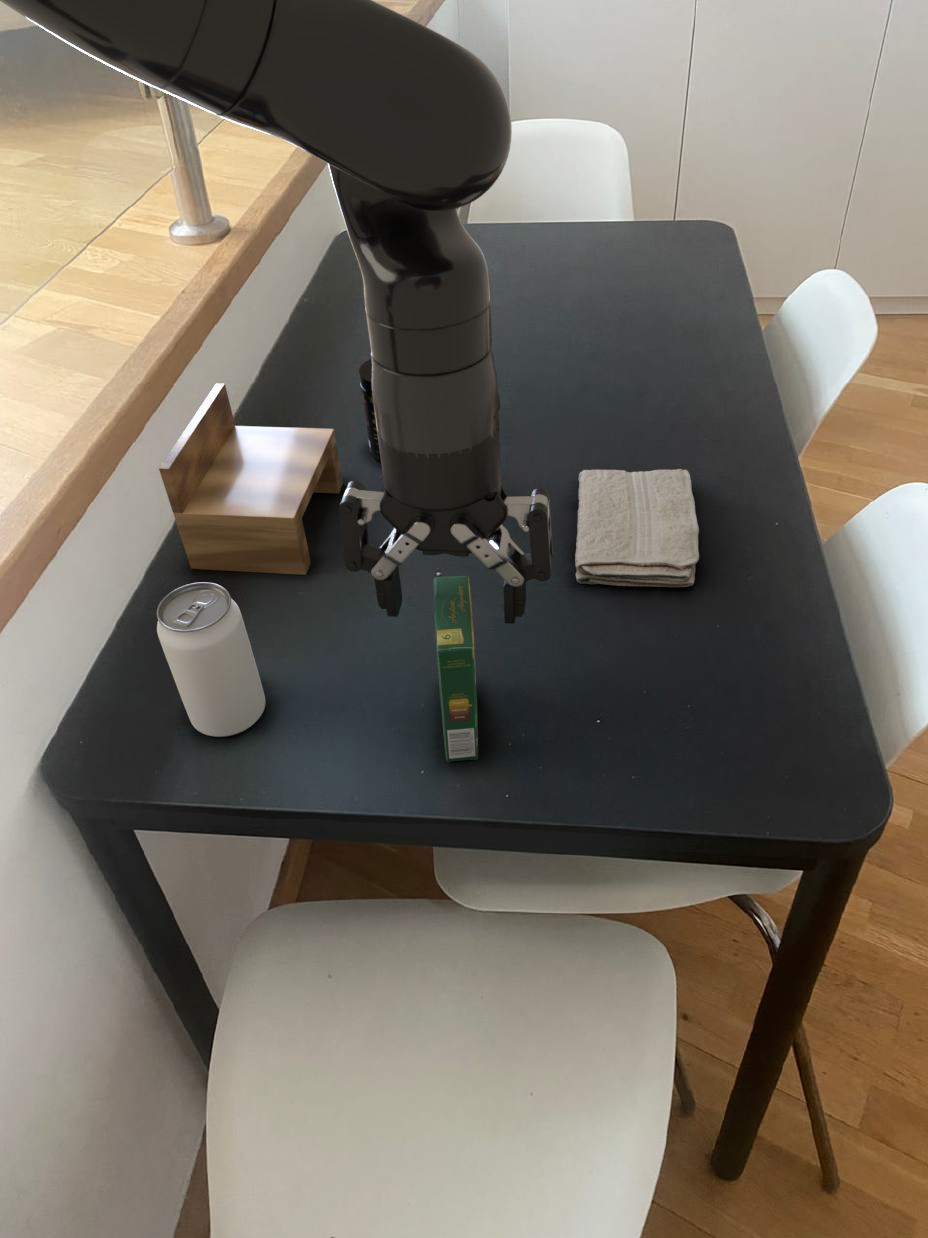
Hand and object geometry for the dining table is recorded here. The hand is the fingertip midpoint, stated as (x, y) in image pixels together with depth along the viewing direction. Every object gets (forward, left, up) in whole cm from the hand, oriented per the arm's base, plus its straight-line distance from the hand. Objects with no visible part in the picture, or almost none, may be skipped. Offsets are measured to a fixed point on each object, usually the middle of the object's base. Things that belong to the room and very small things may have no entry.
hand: (453, 612), depth 67 cm
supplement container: (-13, +41, -13) cm, 45 cm away
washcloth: (+14, +27, -13) cm, 33 cm away
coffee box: (0, 0, -13) cm, 13 cm away
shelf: (-24, +26, -13) cm, 38 cm away
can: (-20, 0, -13) cm, 24 cm away
